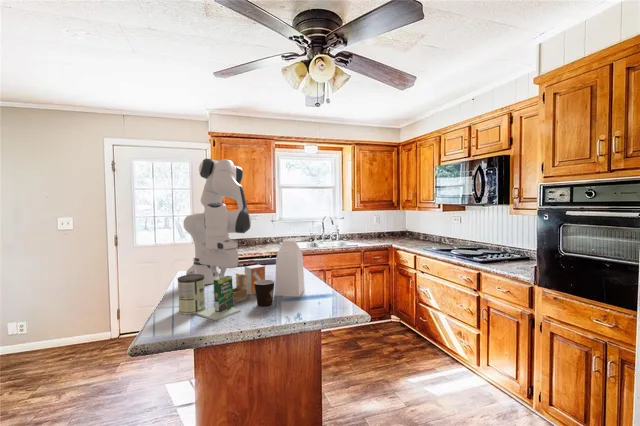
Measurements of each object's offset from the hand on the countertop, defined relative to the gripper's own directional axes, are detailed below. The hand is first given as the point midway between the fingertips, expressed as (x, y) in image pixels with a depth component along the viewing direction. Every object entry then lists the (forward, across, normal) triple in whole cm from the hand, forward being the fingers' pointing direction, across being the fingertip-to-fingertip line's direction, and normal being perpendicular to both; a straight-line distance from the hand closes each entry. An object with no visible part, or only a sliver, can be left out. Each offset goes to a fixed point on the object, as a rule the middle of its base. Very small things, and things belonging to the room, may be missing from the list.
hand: (218, 277), depth 128 cm
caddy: (+14, -8, +14) cm, 22 cm away
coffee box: (+14, -1, +3) cm, 14 cm away
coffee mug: (+15, +9, +19) cm, 26 cm away
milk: (+15, +6, +38) cm, 41 cm away
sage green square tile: (+15, 0, 0) cm, 15 cm away
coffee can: (+15, -12, -4) cm, 20 cm away
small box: (+15, -9, +29) cm, 34 cm away
